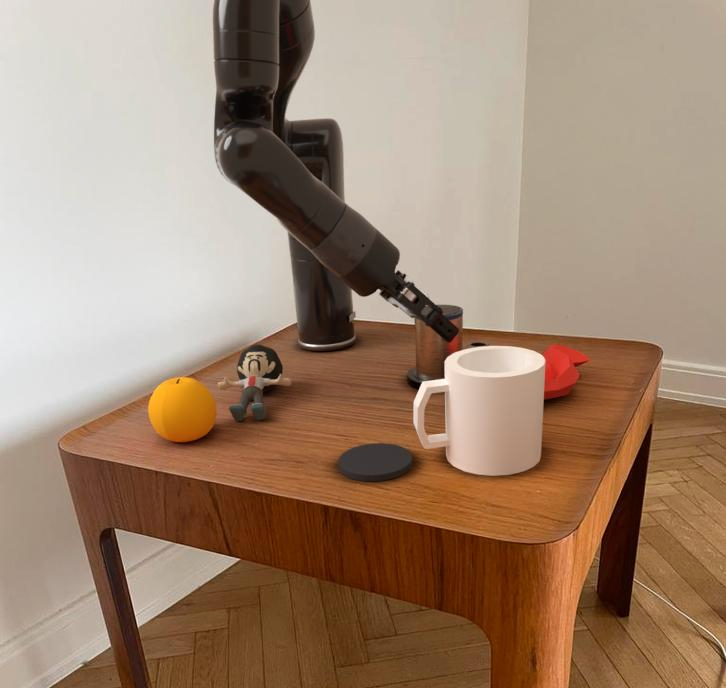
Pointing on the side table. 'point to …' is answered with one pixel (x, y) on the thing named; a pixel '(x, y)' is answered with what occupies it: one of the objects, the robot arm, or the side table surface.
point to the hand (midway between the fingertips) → (441, 328)
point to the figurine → (255, 380)
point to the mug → (488, 409)
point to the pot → (436, 343)
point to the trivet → (375, 462)
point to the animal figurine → (561, 370)
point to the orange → (182, 409)
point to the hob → (415, 379)
